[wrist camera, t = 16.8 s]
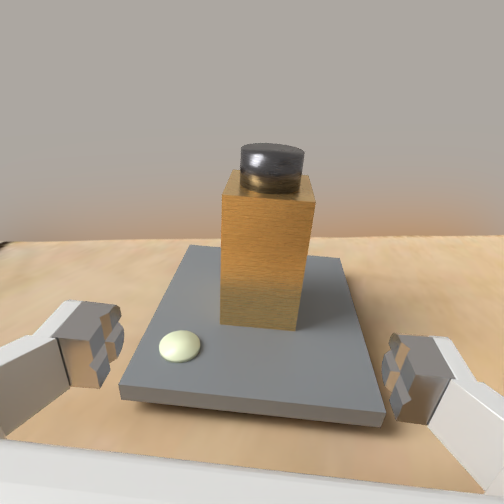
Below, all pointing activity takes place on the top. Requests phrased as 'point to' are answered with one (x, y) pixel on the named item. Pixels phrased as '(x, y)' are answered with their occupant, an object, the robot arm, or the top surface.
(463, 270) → the top surface
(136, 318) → the top surface
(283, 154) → the block with dome knob
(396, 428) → the top surface
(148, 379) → the base
